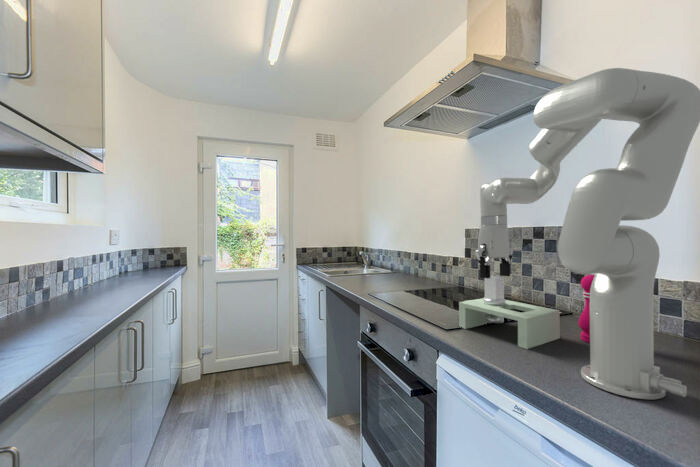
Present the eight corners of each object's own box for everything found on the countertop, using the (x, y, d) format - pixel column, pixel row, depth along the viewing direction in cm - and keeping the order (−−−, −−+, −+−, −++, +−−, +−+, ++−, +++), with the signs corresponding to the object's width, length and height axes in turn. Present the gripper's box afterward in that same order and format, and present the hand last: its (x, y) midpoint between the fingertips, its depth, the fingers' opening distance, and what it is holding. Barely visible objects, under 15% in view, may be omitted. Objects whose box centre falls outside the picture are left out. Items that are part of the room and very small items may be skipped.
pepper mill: (581, 343, 83) (580, 270, 83) (576, 335, 90) (575, 267, 90) (615, 347, 80) (614, 271, 80) (607, 339, 86) (606, 268, 86)
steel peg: (510, 321, 95) (509, 277, 95) (497, 325, 92) (496, 278, 92) (492, 317, 101) (491, 274, 101) (479, 319, 98) (478, 276, 98)
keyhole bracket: (559, 338, 87) (559, 310, 87) (526, 349, 79) (526, 318, 79) (491, 319, 106) (490, 296, 106) (459, 327, 99) (459, 302, 99)
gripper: (500, 223, 104) (501, 274, 103) (465, 222, 95) (466, 277, 95) (521, 222, 97) (523, 276, 97) (486, 221, 89) (488, 280, 88)
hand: (495, 276), depth 96 cm, fingers open, 9 cm apart
